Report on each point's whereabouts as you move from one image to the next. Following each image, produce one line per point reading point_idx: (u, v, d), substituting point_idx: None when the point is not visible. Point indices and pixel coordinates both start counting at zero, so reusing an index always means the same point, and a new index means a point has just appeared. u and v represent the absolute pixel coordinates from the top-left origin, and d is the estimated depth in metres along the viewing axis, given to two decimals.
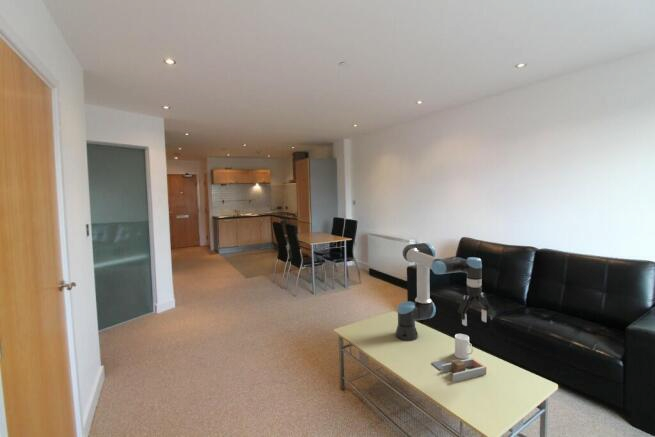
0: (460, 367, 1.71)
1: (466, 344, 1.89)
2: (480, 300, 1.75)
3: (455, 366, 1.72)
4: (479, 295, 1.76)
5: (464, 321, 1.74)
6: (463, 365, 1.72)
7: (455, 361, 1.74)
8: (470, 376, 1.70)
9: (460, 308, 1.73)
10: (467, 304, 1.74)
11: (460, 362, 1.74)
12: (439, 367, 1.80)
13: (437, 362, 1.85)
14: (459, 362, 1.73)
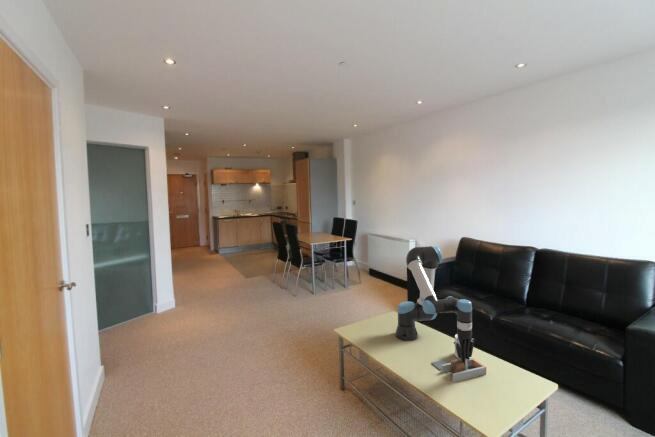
0: (459, 367, 1.71)
1: None
2: (468, 344, 1.73)
3: (455, 367, 1.72)
4: (470, 337, 1.74)
5: None
6: (462, 365, 1.71)
7: (454, 361, 1.74)
8: (470, 376, 1.70)
9: (458, 354, 1.73)
10: (462, 349, 1.73)
11: (459, 361, 1.73)
12: (439, 367, 1.80)
13: (437, 362, 1.85)
14: (458, 362, 1.73)
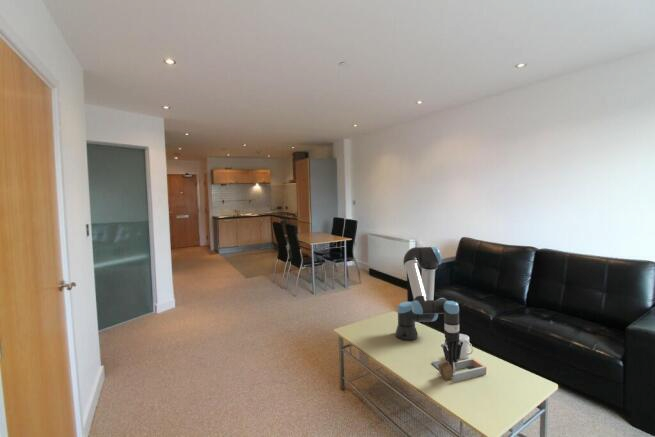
0: (446, 370, 1.68)
1: (466, 344, 1.89)
2: (456, 347, 1.70)
3: (442, 370, 1.69)
4: (457, 340, 1.71)
5: (452, 369, 1.71)
6: (449, 367, 1.68)
7: (441, 364, 1.71)
8: (470, 376, 1.70)
9: (446, 357, 1.70)
10: (449, 352, 1.70)
11: (446, 364, 1.70)
12: None
13: (437, 362, 1.85)
14: (444, 365, 1.70)
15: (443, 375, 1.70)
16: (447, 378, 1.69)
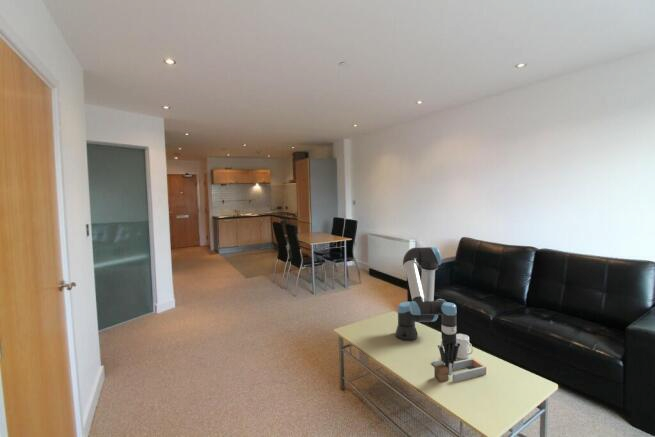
0: (442, 371, 1.67)
1: (466, 344, 1.89)
2: (452, 348, 1.70)
3: (438, 371, 1.68)
4: (454, 341, 1.71)
5: (448, 370, 1.71)
6: (446, 369, 1.68)
7: (438, 365, 1.71)
8: (470, 376, 1.70)
9: (442, 358, 1.70)
10: (446, 353, 1.70)
11: (443, 366, 1.70)
12: None
13: (437, 362, 1.85)
14: (441, 366, 1.69)
15: (437, 376, 1.69)
16: (441, 380, 1.67)
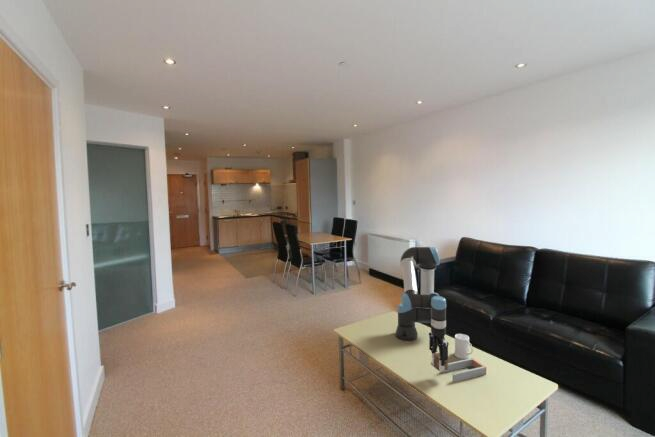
0: None
1: (466, 344, 1.89)
2: (437, 343, 1.67)
3: (437, 359, 1.69)
4: (439, 338, 1.66)
5: None
6: None
7: (438, 354, 1.71)
8: (470, 376, 1.70)
9: None
10: None
11: None
12: None
13: None
14: None
15: (437, 365, 1.70)
16: None
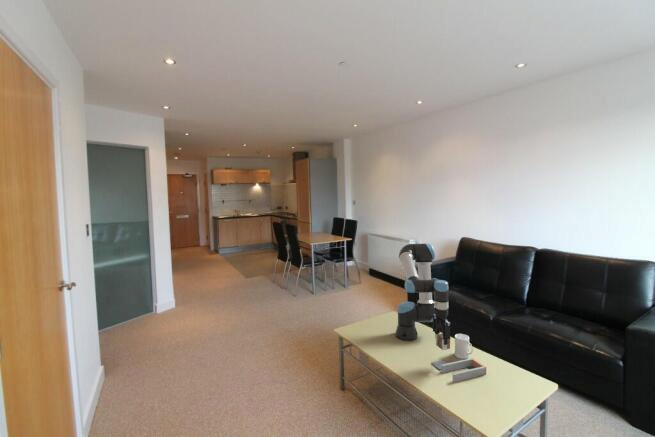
0: None
1: (466, 344, 1.89)
2: (440, 324, 1.79)
3: (440, 339, 1.81)
4: (442, 319, 1.78)
5: None
6: None
7: (441, 334, 1.83)
8: (470, 376, 1.70)
9: None
10: None
11: None
12: (439, 367, 1.80)
13: (437, 362, 1.85)
14: None
15: (440, 345, 1.81)
16: None
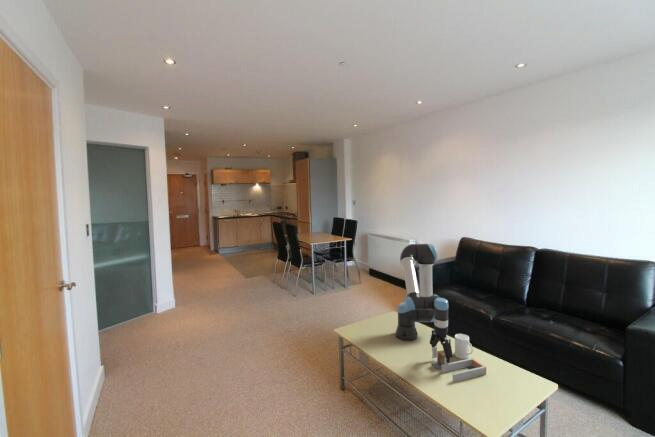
0: None
1: (466, 344, 1.89)
2: (441, 342, 1.80)
3: (440, 356, 1.81)
4: (442, 337, 1.79)
5: None
6: None
7: (441, 351, 1.84)
8: (470, 376, 1.70)
9: None
10: None
11: None
12: (439, 367, 1.80)
13: None
14: (444, 353, 1.82)
15: (440, 362, 1.82)
16: None
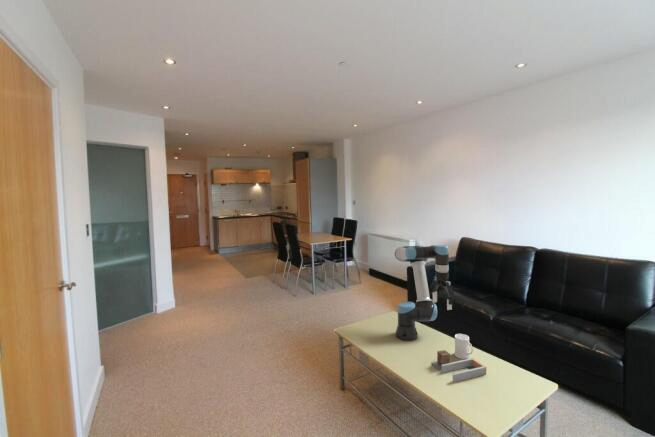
0: (445, 357, 1.80)
1: (466, 344, 1.89)
2: (442, 286, 1.87)
3: (440, 356, 1.81)
4: (443, 281, 1.87)
5: None
6: (448, 355, 1.81)
7: (441, 351, 1.84)
8: (470, 376, 1.70)
9: None
10: None
11: (445, 352, 1.83)
12: (439, 367, 1.80)
13: None
14: (444, 353, 1.82)
15: (440, 362, 1.82)
16: None
